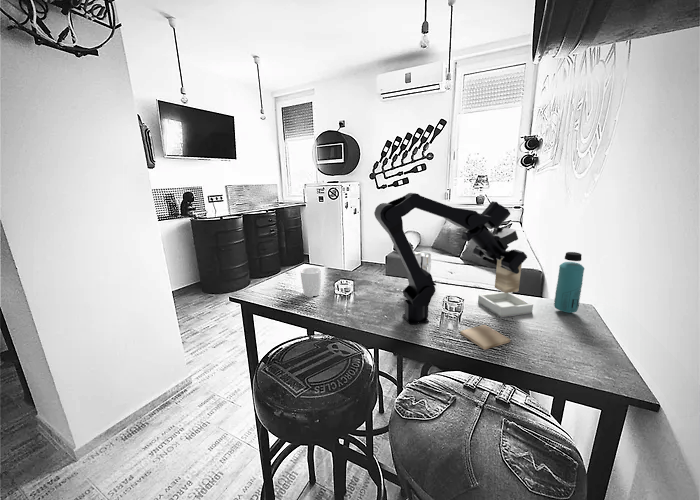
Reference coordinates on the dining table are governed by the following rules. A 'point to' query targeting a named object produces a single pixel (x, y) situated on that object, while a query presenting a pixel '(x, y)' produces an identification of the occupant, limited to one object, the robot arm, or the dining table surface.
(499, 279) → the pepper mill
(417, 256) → the beer glass
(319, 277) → the white cup
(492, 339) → the cork coaster
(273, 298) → the dining table surface
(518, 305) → the tray
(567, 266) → the beverage bottle
